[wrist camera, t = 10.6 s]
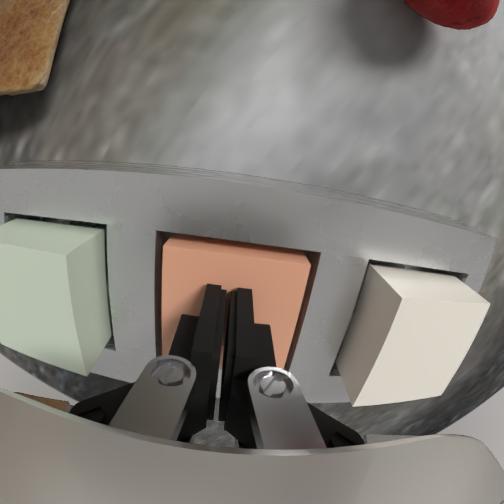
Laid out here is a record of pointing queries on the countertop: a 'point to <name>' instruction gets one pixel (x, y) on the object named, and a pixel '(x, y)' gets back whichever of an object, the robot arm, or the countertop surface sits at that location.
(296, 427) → the robot arm
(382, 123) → the countertop surface
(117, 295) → the keypad housing
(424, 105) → the countertop surface
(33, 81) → the brown hollow boot-shaped piece
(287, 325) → the terracotta key
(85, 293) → the sage key
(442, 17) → the onion
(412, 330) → the cream key
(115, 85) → the countertop surface
